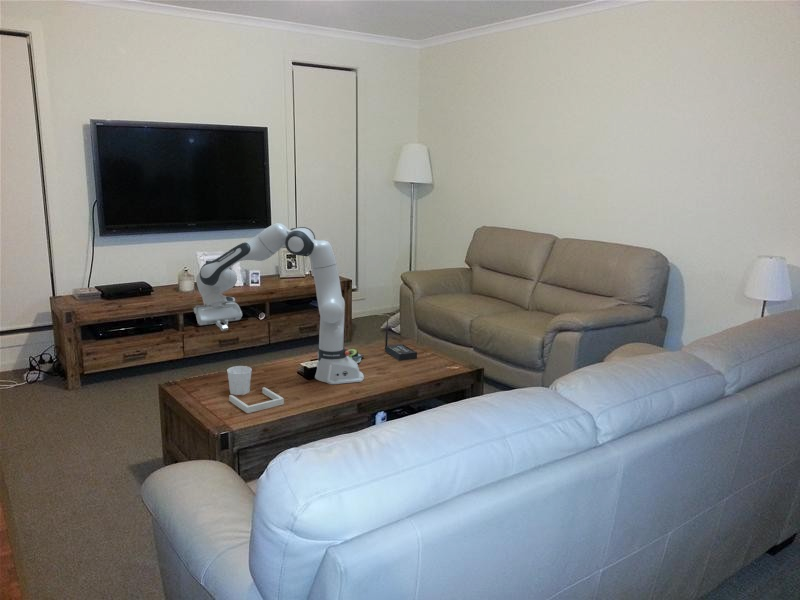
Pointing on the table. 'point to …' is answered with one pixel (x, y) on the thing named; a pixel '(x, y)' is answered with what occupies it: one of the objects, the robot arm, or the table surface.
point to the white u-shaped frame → (260, 406)
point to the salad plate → (355, 355)
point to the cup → (239, 379)
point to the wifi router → (399, 350)
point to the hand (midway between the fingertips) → (224, 329)
